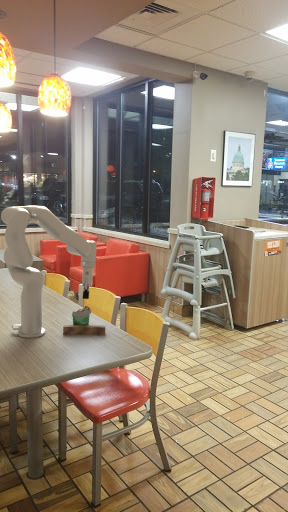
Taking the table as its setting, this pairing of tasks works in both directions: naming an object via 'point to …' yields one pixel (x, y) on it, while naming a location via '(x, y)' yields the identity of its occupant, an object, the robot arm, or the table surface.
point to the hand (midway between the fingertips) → (85, 298)
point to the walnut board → (83, 330)
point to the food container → (81, 316)
